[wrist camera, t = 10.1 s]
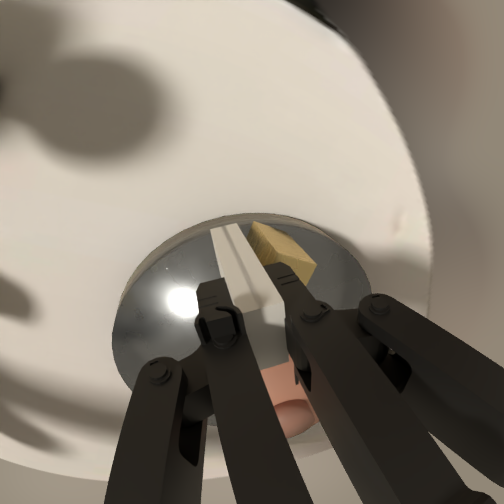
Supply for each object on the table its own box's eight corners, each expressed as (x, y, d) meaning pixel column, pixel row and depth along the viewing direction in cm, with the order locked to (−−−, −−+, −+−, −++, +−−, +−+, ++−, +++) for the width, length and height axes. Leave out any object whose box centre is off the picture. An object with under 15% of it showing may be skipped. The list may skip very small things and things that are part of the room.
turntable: (109, 390, 21) (104, 448, 15) (151, 170, 14) (131, 195, 9) (293, 408, 28) (312, 452, 22) (394, 258, 22) (444, 296, 16)
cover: (197, 386, 19) (209, 456, 14) (233, 307, 17) (258, 386, 11) (285, 392, 22) (310, 449, 17) (332, 325, 20) (375, 384, 14)
